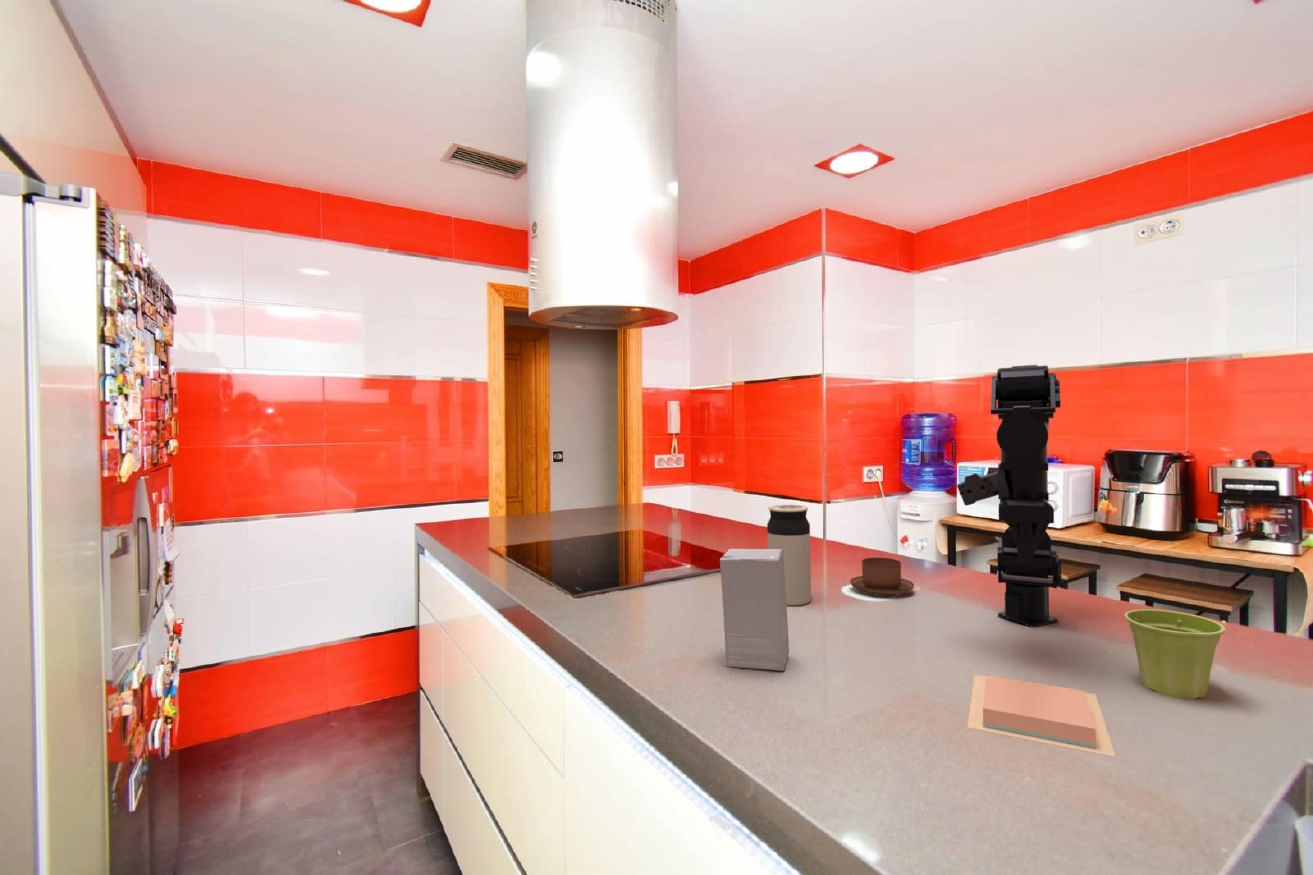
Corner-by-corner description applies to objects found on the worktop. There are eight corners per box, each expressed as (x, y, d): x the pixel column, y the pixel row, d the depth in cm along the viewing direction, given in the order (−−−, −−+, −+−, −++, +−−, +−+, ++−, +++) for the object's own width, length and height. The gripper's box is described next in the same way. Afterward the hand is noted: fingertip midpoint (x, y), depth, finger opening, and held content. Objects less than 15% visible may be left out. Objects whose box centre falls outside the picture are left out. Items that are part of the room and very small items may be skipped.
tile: (985, 675, 75) (982, 708, 67) (1084, 691, 70) (1095, 728, 62) (986, 691, 75) (983, 726, 67) (1085, 708, 70) (1095, 749, 62)
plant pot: (1235, 714, 69) (1234, 638, 69) (1129, 697, 74) (1129, 625, 74) (1215, 684, 77) (1214, 615, 77) (1121, 670, 82) (1120, 605, 82)
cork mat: (974, 677, 81) (974, 674, 81) (1095, 696, 74) (1095, 694, 74) (967, 730, 67) (967, 727, 67) (1115, 760, 60) (1115, 757, 60)
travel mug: (816, 598, 119) (815, 505, 119) (802, 608, 112) (801, 510, 112) (777, 593, 123) (776, 503, 123) (762, 603, 116) (760, 508, 116)
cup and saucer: (838, 587, 127) (837, 558, 127) (887, 582, 131) (886, 553, 131) (875, 603, 116) (874, 570, 116) (927, 596, 119) (927, 564, 119)
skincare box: (789, 656, 89) (787, 547, 89) (783, 675, 82) (780, 557, 82) (732, 650, 92) (730, 545, 92) (721, 668, 85) (719, 554, 85)
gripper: (964, 452, 99) (965, 548, 100) (955, 458, 83) (957, 573, 83) (1045, 452, 94) (1047, 554, 94) (1053, 458, 78) (1055, 581, 78)
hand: (1025, 564), depth 88 cm, fingers closed
